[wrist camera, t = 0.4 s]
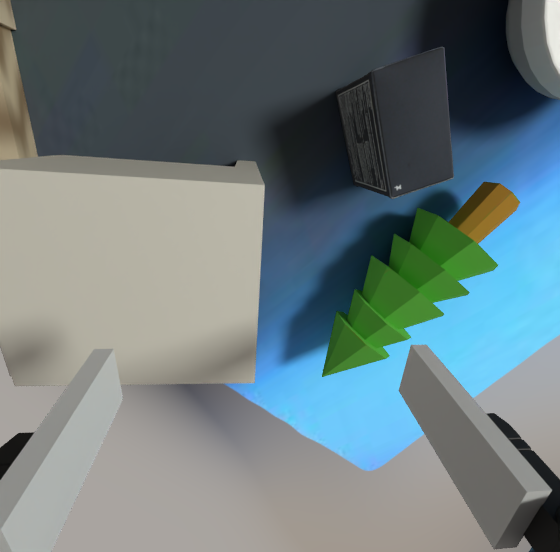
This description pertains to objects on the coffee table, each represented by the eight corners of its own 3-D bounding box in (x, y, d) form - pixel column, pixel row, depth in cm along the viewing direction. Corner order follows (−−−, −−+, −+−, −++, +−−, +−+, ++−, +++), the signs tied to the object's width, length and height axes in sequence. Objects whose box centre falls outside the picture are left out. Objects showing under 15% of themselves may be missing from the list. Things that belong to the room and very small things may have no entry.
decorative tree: (577, 224, 29) (356, 431, 36) (510, 227, 40) (351, 384, 47) (480, 146, 30) (280, 363, 36) (441, 170, 41) (293, 333, 47)
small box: (404, 169, 38) (458, 180, 28) (352, 186, 38) (388, 203, 28) (391, 70, 33) (449, 42, 24) (333, 90, 34) (367, 70, 24)
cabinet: (86, 149, 34) (-105, 162, 15) (255, 161, 36) (264, 185, 17) (105, 270, 39) (-19, 386, 21) (250, 274, 41) (254, 382, 23)
